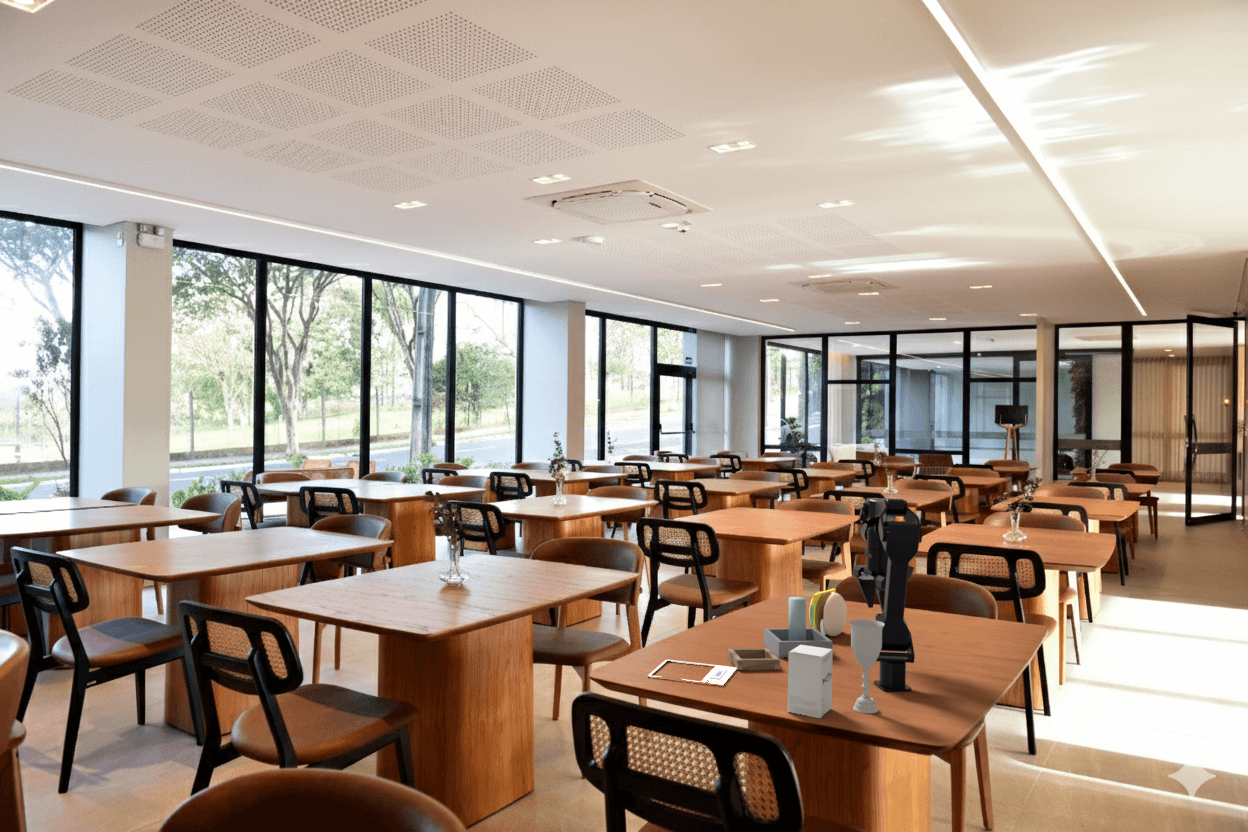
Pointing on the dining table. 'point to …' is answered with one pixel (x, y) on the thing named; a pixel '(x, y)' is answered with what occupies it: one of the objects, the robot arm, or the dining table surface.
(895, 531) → the robot arm
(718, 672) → the photo frame
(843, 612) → the hamburger
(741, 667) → the holder
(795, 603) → the pale blue tapered cylinder
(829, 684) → the supplement box
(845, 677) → the dining table surface
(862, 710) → the chalice
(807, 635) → the bin
